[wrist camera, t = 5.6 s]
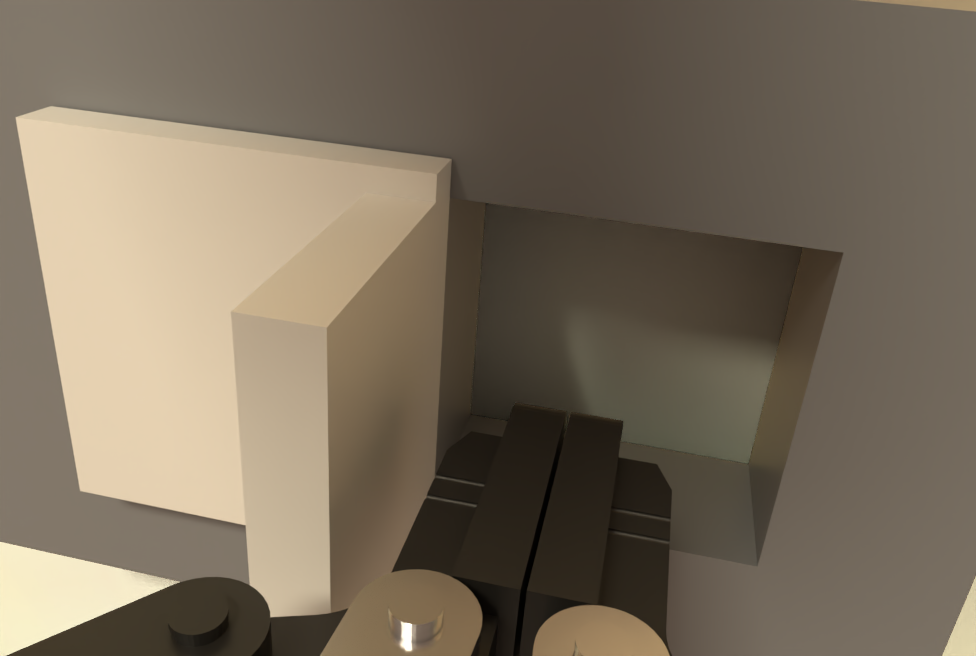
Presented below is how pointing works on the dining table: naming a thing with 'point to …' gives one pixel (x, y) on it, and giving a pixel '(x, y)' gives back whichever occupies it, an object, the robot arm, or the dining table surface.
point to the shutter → (248, 333)
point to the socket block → (611, 196)
